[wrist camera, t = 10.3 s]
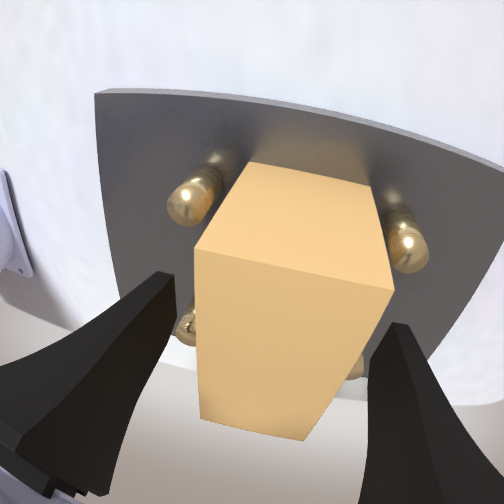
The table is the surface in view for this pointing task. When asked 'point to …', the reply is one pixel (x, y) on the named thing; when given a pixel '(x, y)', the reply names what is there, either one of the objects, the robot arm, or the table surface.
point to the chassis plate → (302, 159)
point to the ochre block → (285, 297)
